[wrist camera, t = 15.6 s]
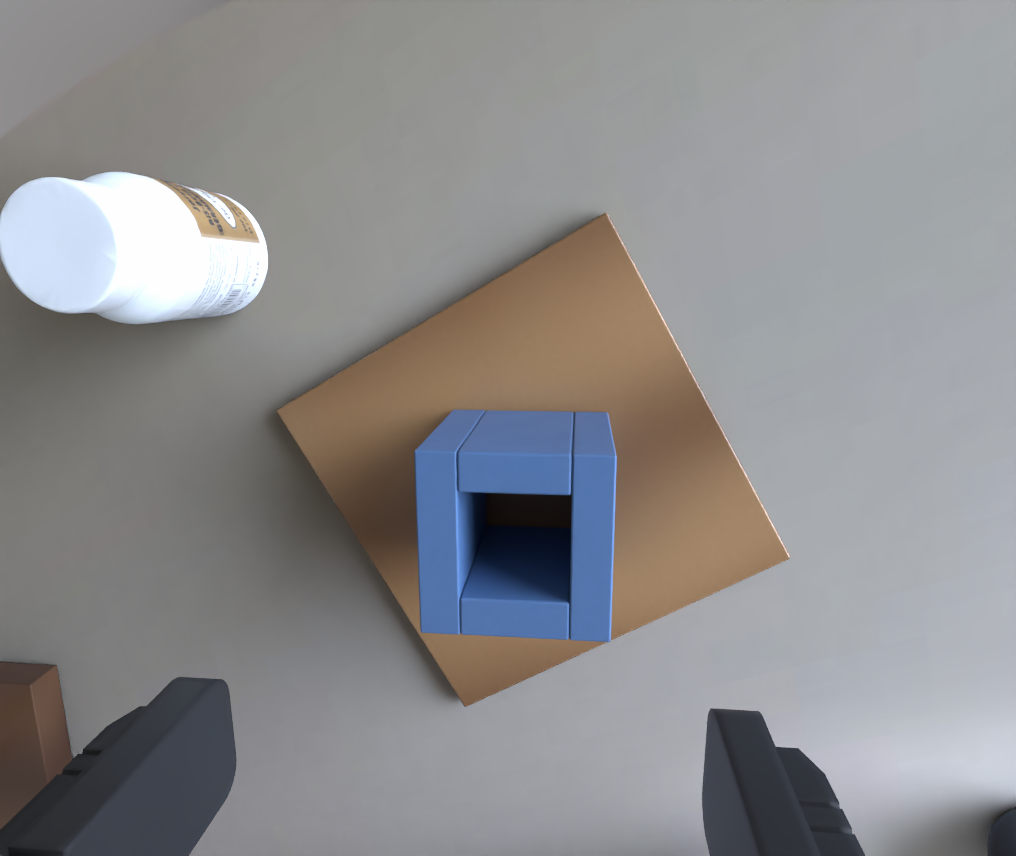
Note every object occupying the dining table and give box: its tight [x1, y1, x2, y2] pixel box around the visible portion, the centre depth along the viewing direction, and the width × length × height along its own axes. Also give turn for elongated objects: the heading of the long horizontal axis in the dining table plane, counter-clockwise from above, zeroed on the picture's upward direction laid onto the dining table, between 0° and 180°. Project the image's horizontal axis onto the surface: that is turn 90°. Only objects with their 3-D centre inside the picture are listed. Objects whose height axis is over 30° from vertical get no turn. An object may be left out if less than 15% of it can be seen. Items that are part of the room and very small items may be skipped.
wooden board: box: [277, 213, 790, 707], centre depth 25 cm, size 14×14×1 cm
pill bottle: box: [0, 172, 268, 324], centre depth 21 cm, size 4×4×8 cm
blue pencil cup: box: [414, 410, 617, 642], centre depth 22 cm, size 6×6×6 cm
